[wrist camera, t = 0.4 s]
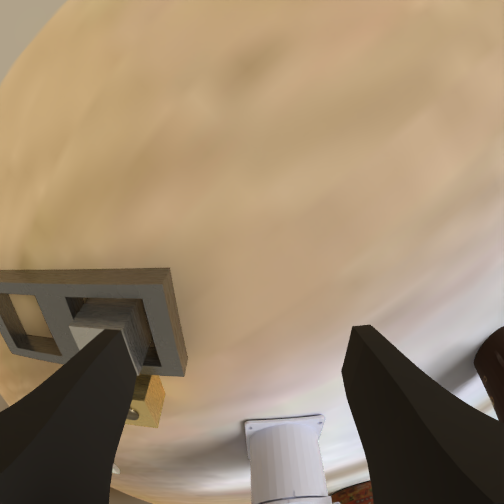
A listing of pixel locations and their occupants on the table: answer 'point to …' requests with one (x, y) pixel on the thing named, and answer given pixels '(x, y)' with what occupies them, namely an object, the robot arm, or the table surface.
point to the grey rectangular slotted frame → (70, 302)
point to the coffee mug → (493, 370)
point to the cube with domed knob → (114, 324)
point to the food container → (355, 494)
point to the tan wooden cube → (146, 401)
